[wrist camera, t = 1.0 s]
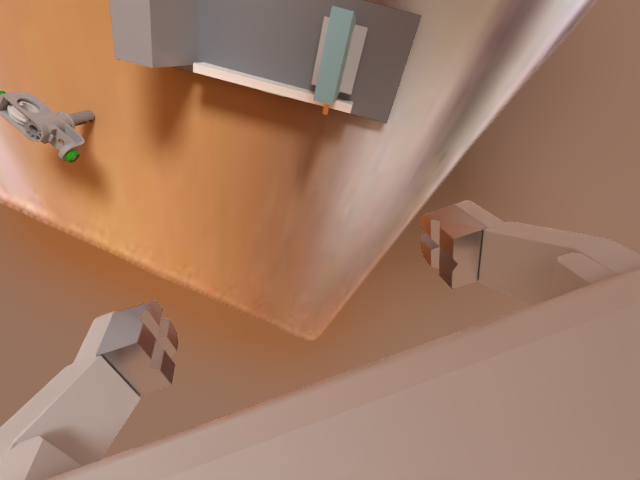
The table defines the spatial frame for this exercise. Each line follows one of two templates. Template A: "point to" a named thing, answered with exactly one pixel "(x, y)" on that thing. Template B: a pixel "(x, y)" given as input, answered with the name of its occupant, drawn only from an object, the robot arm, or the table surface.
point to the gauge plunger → (337, 56)
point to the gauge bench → (266, 45)
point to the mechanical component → (44, 123)
